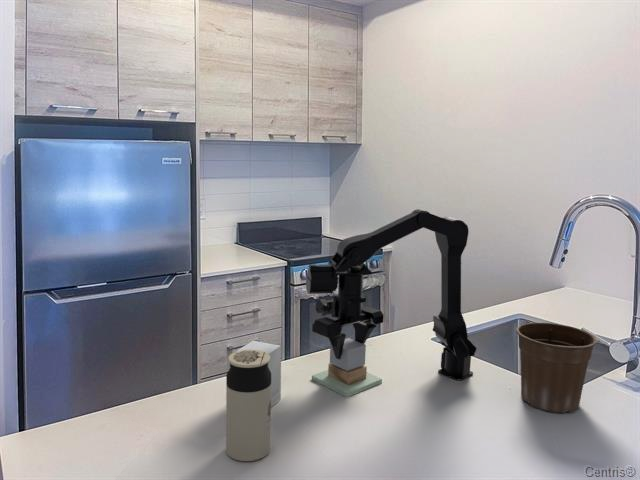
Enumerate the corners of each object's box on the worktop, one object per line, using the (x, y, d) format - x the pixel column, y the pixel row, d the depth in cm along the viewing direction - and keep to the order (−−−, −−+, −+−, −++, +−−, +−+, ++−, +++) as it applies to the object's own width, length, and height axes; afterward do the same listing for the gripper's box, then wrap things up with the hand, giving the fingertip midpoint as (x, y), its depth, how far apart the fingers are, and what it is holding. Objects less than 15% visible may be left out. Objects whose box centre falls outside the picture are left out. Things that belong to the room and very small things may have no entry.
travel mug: (219, 460, 91) (219, 363, 88) (234, 436, 99) (235, 346, 96) (263, 465, 90) (264, 367, 87) (275, 441, 97) (276, 350, 95)
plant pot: (509, 409, 113) (515, 339, 110) (511, 380, 128) (517, 318, 125) (592, 425, 107) (601, 351, 104) (584, 393, 122) (592, 328, 119)
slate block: (364, 364, 124) (365, 344, 123) (347, 371, 120) (347, 350, 119) (347, 357, 128) (348, 337, 127) (329, 363, 124) (330, 343, 123)
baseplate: (381, 382, 124) (382, 378, 124) (346, 397, 116) (346, 392, 116) (346, 366, 133) (347, 363, 133) (311, 379, 125) (311, 375, 125)
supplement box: (281, 399, 114) (282, 345, 112) (264, 414, 108) (265, 356, 106) (253, 392, 117) (253, 339, 115) (234, 406, 111) (235, 350, 109)
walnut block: (366, 378, 124) (366, 366, 123) (348, 385, 120) (348, 373, 119) (345, 369, 129) (346, 357, 129) (328, 375, 125) (328, 363, 125)
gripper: (353, 280, 133) (351, 338, 136) (297, 291, 121) (296, 354, 123) (386, 289, 125) (383, 350, 127) (329, 302, 113) (327, 369, 115)
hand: (347, 355), depth 124 cm, fingers open, 6 cm apart
